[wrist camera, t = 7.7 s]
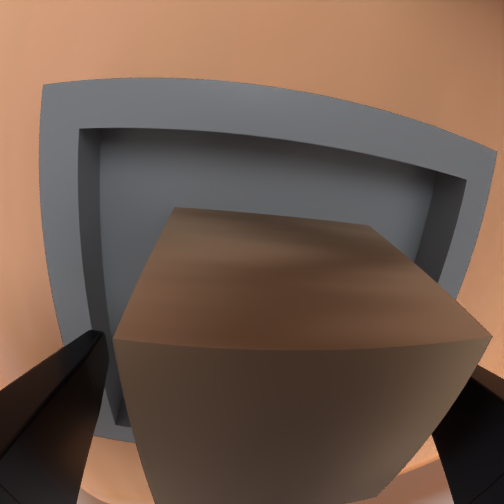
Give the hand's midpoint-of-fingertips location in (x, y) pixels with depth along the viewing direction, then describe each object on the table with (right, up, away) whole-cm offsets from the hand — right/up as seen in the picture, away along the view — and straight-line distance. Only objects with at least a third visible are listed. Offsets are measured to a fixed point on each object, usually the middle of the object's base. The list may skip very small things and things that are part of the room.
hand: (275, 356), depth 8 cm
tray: (0, +1, +3) cm, 4 cm away
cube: (0, +1, +2) cm, 3 cm away
